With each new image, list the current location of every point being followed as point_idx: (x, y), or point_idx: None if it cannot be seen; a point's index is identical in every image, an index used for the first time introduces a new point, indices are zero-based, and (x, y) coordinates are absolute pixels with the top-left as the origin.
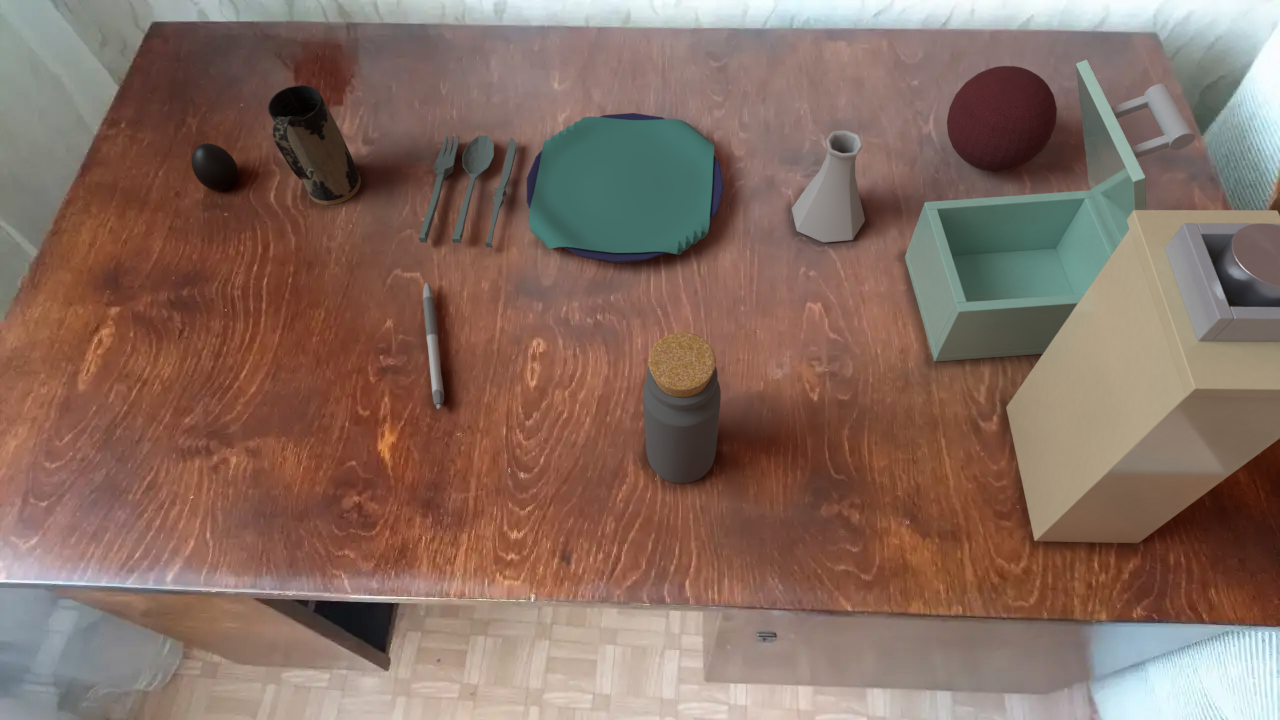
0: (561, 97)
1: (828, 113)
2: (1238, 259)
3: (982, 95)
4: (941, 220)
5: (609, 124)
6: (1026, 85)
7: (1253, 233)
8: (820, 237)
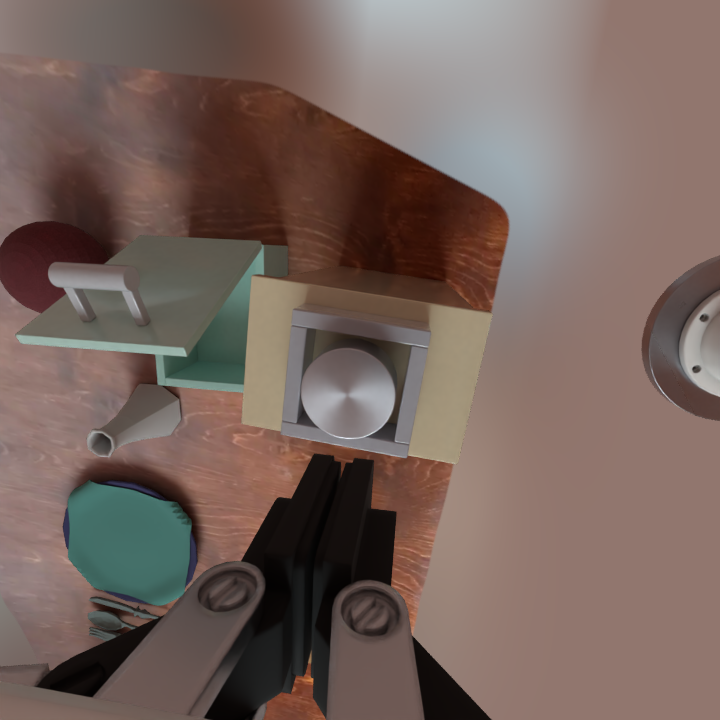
0: (48, 558)
1: (52, 380)
2: (349, 438)
3: (37, 303)
4: (173, 366)
5: (74, 543)
6: (23, 266)
7: (314, 403)
8: (177, 422)
